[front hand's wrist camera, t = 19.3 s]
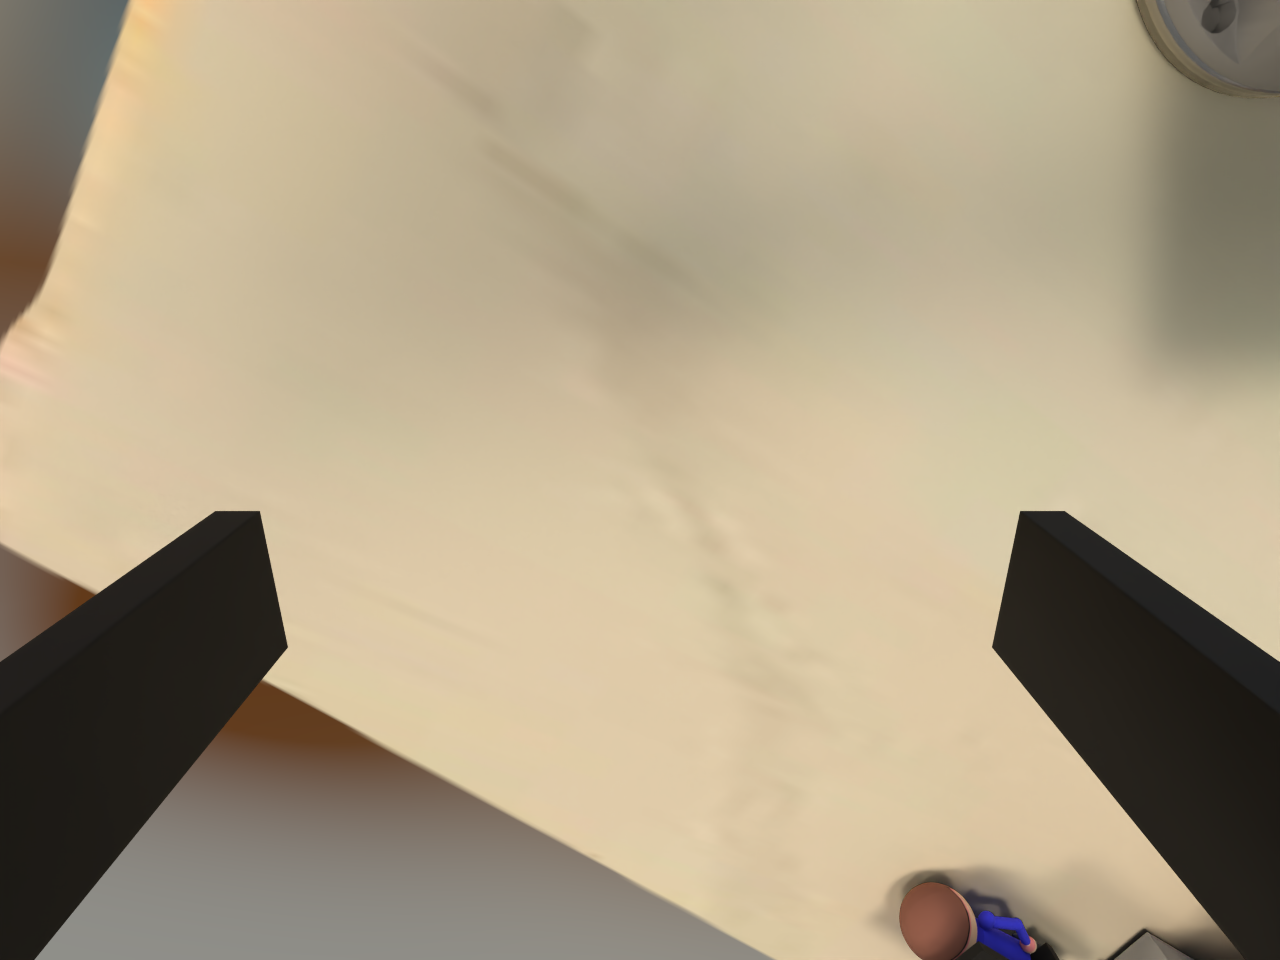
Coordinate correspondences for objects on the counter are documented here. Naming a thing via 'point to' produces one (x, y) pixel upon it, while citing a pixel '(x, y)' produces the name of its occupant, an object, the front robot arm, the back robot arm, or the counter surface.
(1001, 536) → the counter surface
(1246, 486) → the counter surface
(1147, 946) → the record crate
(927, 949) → the figurine character
